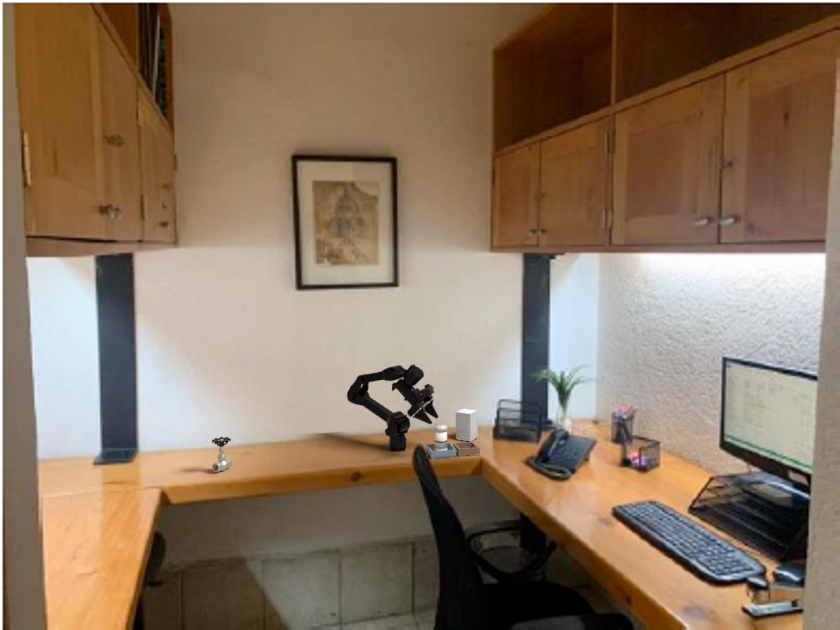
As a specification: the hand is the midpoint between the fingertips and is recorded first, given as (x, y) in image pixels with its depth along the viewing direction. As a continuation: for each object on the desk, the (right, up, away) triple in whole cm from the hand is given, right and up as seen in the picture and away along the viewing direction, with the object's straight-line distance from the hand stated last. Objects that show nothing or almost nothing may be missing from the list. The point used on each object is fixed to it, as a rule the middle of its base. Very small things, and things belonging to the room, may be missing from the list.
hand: (434, 420), depth 256 cm
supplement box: (+14, -12, +21) cm, 28 cm away
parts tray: (+2, -13, 0) cm, 14 cm away
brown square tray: (+13, -13, +2) cm, 19 cm away
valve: (-79, -16, -18) cm, 83 cm away
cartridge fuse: (+2, -13, 0) cm, 13 cm away
